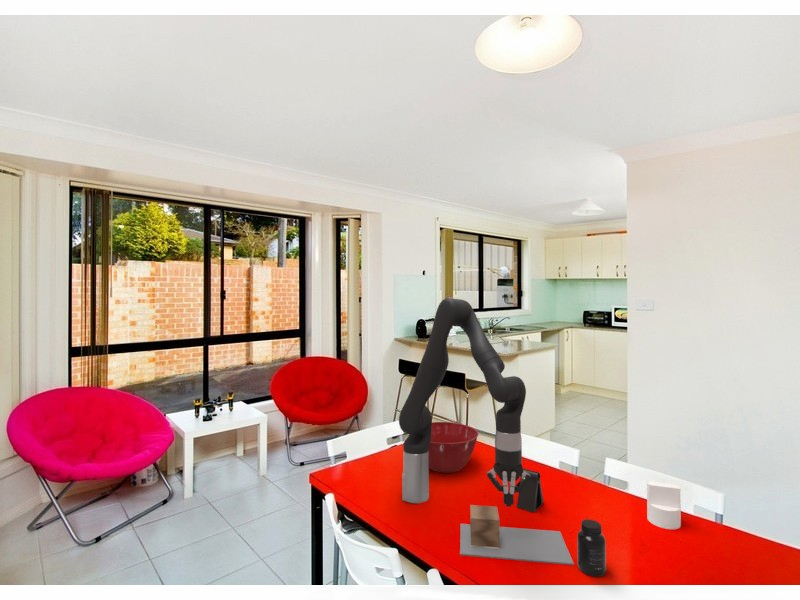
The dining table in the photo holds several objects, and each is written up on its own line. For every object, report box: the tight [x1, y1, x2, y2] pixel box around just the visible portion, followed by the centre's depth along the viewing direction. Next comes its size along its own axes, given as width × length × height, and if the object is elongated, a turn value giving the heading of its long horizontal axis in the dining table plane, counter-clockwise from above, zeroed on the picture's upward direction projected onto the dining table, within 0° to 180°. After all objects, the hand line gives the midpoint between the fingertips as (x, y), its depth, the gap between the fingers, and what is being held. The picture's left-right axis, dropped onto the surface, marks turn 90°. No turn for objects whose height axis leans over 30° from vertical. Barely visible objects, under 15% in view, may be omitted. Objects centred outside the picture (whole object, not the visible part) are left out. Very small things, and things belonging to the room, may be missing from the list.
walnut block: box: [469, 504, 500, 549], centre depth 123 cm, size 8×8×8 cm
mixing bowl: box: [429, 421, 479, 474], centre depth 178 cm, size 28×28×16 cm
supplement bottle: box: [576, 518, 607, 578], centre depth 110 cm, size 7×7×12 cm
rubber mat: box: [459, 523, 575, 566], centre depth 122 cm, size 30×16×1 cm, turn 81°
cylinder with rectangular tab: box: [646, 481, 682, 530], centre depth 133 cm, size 9×9×12 cm
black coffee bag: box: [516, 467, 545, 514], centre depth 145 cm, size 9×6×12 cm, turn 140°
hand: (508, 505), depth 122 cm, fingers closed
